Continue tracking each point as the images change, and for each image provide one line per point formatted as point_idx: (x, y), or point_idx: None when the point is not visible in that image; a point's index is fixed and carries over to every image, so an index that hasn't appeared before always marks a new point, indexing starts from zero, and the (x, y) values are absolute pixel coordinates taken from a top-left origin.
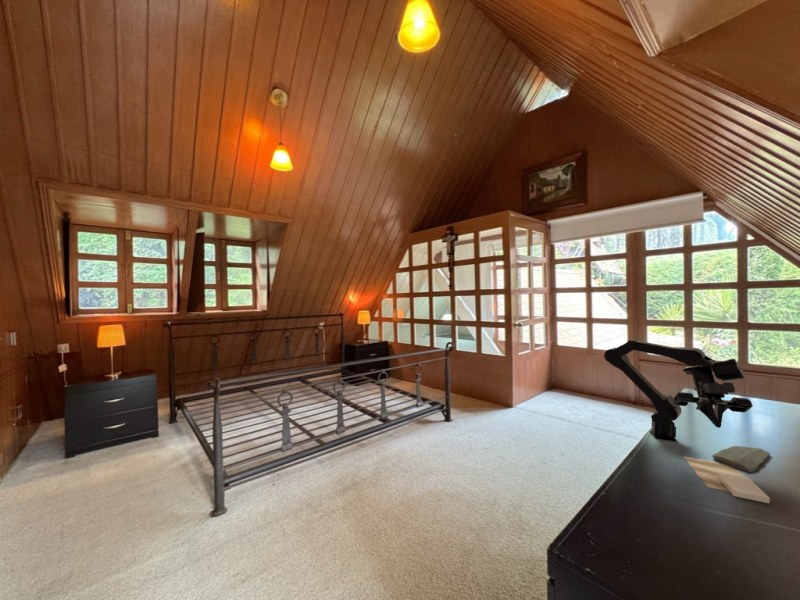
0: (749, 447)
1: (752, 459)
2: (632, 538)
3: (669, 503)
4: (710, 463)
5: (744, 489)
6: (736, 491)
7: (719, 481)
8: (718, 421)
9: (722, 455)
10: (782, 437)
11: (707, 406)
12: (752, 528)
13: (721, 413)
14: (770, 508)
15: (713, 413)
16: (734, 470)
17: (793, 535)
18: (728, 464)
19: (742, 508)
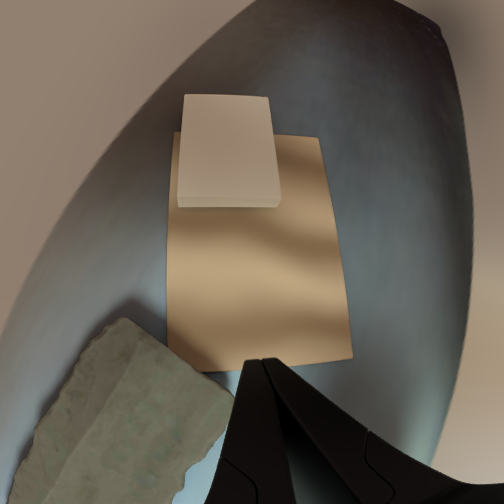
0: None
1: (70, 415)
2: (405, 28)
3: (386, 76)
4: (259, 339)
5: (234, 111)
6: (262, 97)
7: None
8: (271, 395)
9: (194, 404)
10: None
11: (497, 494)
12: (267, 42)
13: (231, 502)
14: None
15: (359, 461)
16: (179, 311)
17: (203, 43)
18: None
19: (259, 83)
